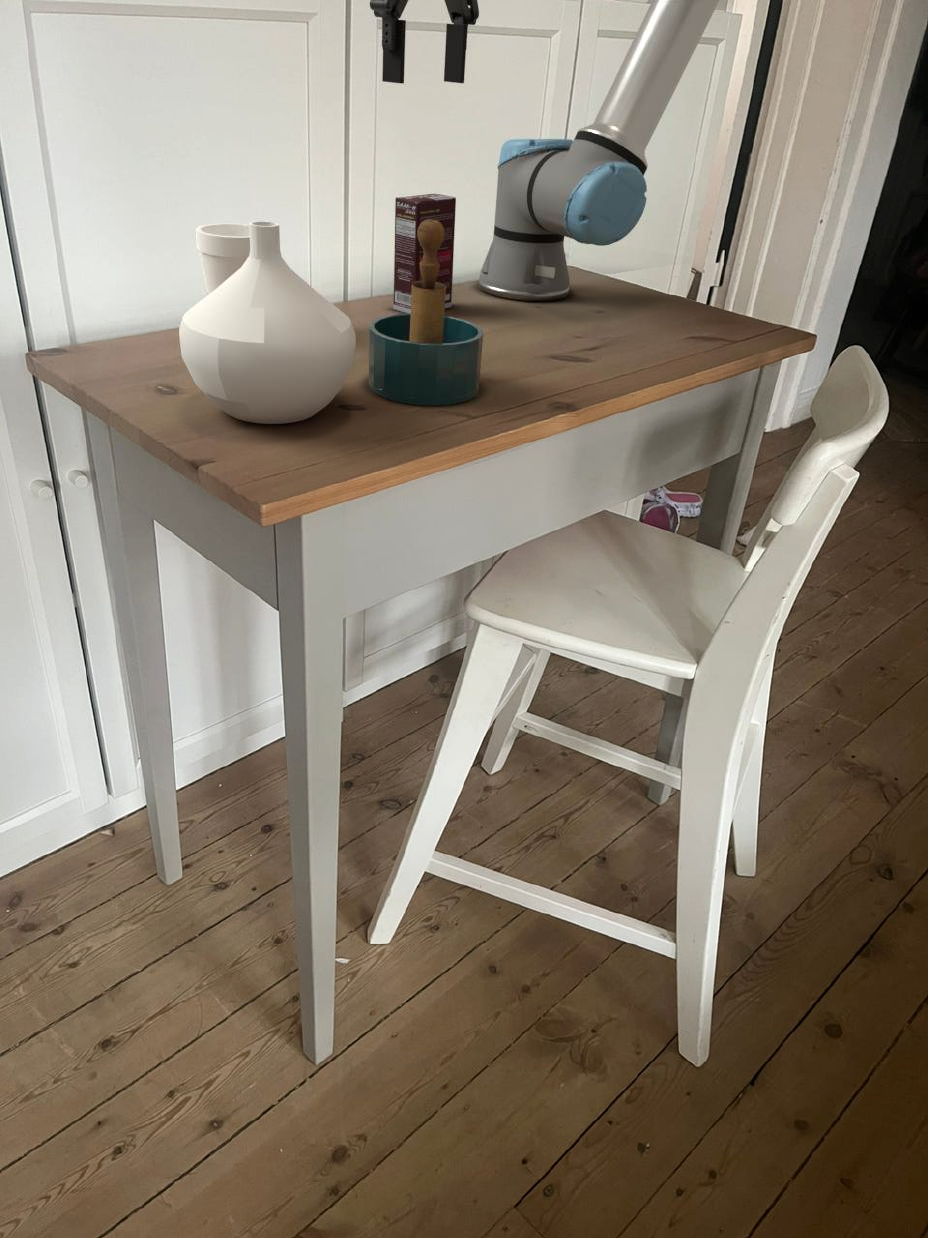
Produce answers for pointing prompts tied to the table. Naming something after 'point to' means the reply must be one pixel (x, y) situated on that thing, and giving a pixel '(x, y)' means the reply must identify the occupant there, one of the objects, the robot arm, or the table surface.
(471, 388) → the crock
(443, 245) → the supplement box
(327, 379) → the vase
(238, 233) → the foam cup
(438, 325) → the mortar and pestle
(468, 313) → the table surface
